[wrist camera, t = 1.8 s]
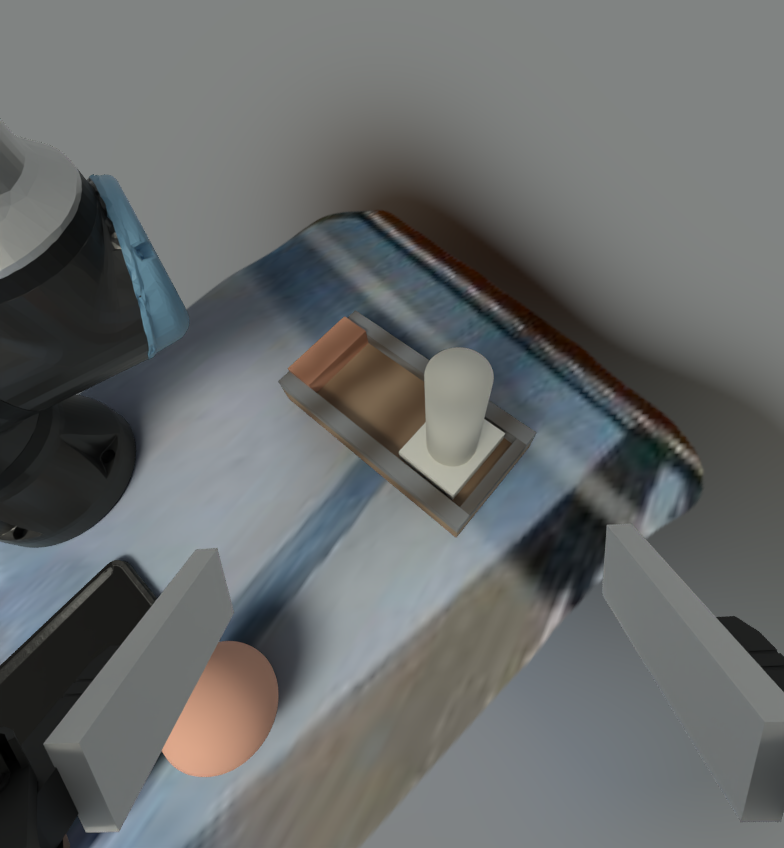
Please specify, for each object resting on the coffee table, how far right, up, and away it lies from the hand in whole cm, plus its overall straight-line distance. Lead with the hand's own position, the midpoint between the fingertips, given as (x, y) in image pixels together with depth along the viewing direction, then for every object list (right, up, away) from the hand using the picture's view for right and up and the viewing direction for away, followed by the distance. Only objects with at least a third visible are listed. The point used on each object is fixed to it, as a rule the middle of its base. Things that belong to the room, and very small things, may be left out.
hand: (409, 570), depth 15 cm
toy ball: (-12, -17, +20) cm, 28 cm away
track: (0, +5, +28) cm, 29 cm away
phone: (-27, -15, +22) cm, 38 cm away
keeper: (+5, +3, +24) cm, 25 cm away
